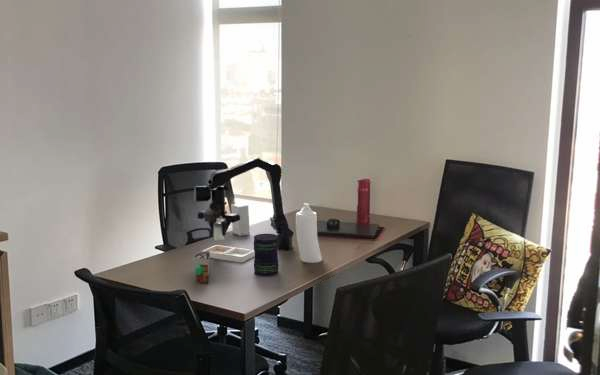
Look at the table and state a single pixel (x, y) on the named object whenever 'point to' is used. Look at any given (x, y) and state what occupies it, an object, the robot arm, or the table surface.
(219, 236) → the grey mushroom
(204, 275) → the food container
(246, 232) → the skincare box
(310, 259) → the white plastic bottle
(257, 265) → the storage jar
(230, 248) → the sorting tray
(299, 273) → the table surface
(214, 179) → the robot arm
